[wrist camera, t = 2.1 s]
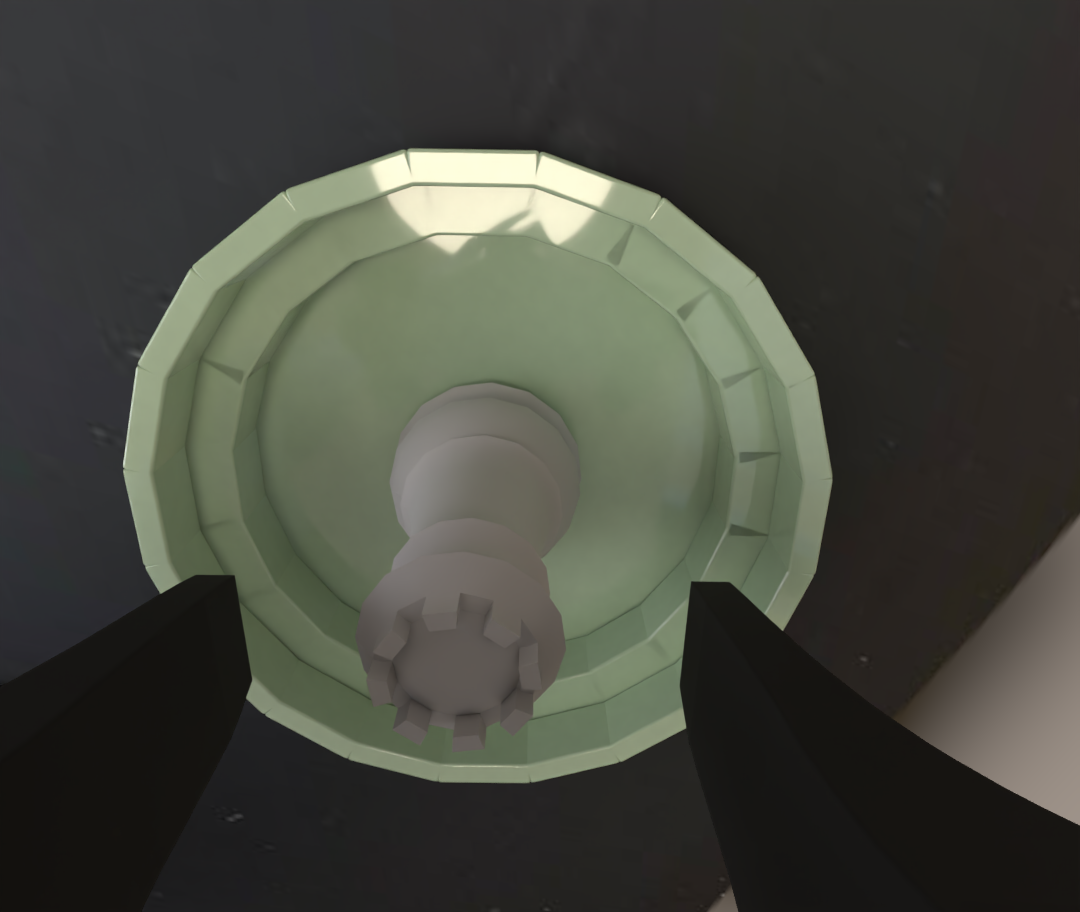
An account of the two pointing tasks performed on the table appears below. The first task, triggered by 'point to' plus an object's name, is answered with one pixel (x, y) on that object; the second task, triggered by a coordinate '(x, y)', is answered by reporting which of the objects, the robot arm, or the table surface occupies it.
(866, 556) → the table surface
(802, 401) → the dish
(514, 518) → the rook chess piece
